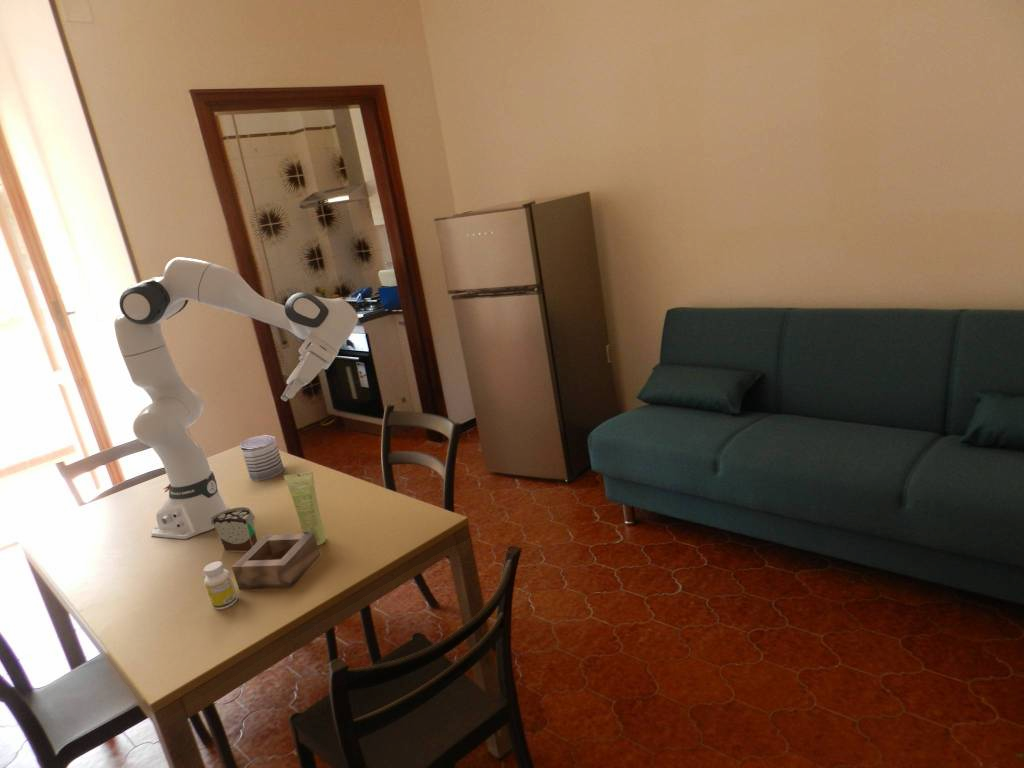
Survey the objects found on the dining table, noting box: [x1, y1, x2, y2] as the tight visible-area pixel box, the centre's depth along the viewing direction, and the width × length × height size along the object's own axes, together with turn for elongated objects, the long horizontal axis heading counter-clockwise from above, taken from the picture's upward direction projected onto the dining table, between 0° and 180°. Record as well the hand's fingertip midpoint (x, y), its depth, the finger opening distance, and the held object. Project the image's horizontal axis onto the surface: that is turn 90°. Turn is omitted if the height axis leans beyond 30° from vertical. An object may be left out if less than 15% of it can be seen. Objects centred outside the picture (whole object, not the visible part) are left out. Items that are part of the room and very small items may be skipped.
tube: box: [283, 471, 327, 547], centre depth 178 cm, size 6×5×20 cm
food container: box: [211, 506, 258, 553], centre depth 185 cm, size 12×6×10 cm, turn 71°
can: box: [239, 434, 285, 482], centre depth 234 cm, size 11×11×12 cm
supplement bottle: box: [203, 560, 239, 611], centre depth 159 cm, size 5×5×10 cm
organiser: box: [231, 533, 321, 590], centre depth 169 cm, size 14×14×6 cm
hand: (285, 398), depth 180 cm, fingers open, 8 cm apart
